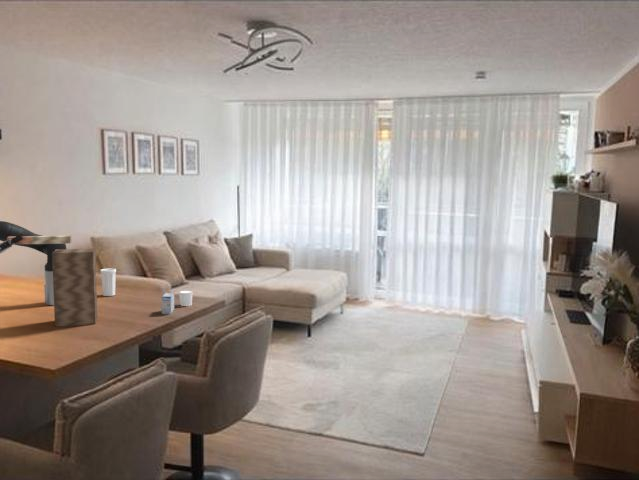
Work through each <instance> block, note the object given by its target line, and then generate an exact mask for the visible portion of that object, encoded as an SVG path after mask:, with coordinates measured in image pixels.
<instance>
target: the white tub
mask: <svg viewBox="0 0 639 480" xmlns="http://www.w3.org/2000/svg"><path fill="white" fill-rule="evenodd" d="M193 293H194V292H193V291H192V290H180V291H178V295H179V296H178V297H179V304H180V305H181V306H180V305H179V306H180V307H183V306H188V307H191V306H192V305H193ZM190 305H191V306H190Z"/></svg>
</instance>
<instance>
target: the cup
mask: <svg viewBox="0 0 639 480" xmlns="http://www.w3.org/2000/svg"><path fill="white" fill-rule="evenodd" d="M99 271H100V277H101V278H100V279H101V290H102V296H104V297H112V296H115V295H116V279H117V278H116V273H117V269H116V268H113V267H112V268H111V267H109V268H108V267H107V268H102V269H100V270H99Z"/></svg>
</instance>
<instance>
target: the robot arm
mask: <svg viewBox="0 0 639 480" xmlns="http://www.w3.org/2000/svg"><path fill="white" fill-rule="evenodd" d="M12 236H16V237H14V238H13V239H12V240H11V239H9V240H8V241H7V237H12ZM22 236H43V235H42V234H38V233H35V232H32V231H31V230H29V229H27V228H25V227H22V226H21V225H18V224H15V223H11V222H8V221H2V220H0V254H2V253H4V252H6V251H7V250H9V249H11V248H12V247H13V246H14V244H15V243H17V242H19V241H20V240H22V239H23V238H22ZM15 246H20V247H25V248H26V247H27V248H30V249H32V250H36V251H38V252H39V253H42V254H44V255H46V257H47V258H46V259H47V260H46V261H47V262H46V263H45V264H44V282H45V283H44V302H45V303H44V304H46V305H47V306H54V290H53V266H52V253H53V252H54V251H55V250H57V249H67V244H15Z"/></svg>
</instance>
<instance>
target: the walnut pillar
mask: <svg viewBox="0 0 639 480" xmlns="http://www.w3.org/2000/svg"><path fill="white" fill-rule="evenodd" d="M96 260H97V259H96V248H71V249H70V248H69V249H67V248H66V249H57V250H55V251H54V252H53V253H52V266H53V290H54V305H53V310H54V327H72V326H73V327H74V326H87V325H97V324H96V323H97V320H98V297H97V296H98V293H97V290H98V289H97V267H96V266H97V265H96V264H97V261H96Z"/></svg>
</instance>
